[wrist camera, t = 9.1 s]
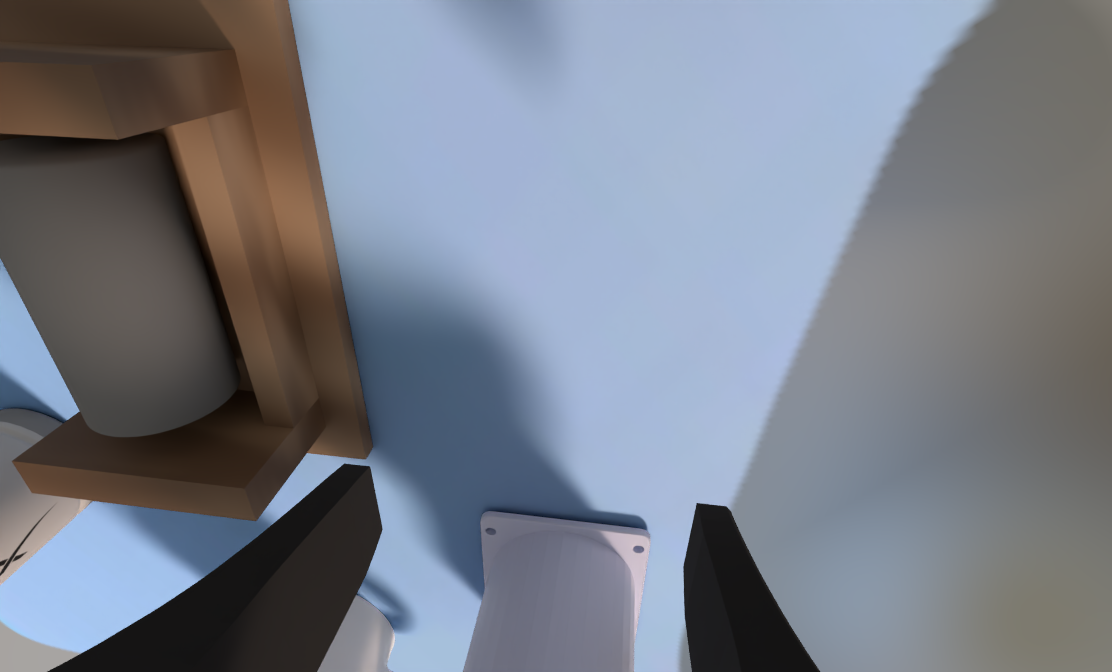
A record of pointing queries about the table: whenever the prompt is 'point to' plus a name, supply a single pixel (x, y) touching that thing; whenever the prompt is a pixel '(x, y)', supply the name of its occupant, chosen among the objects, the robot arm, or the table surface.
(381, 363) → the table surface
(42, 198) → the roll
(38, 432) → the travel mug
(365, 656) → the mug
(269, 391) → the cradle
